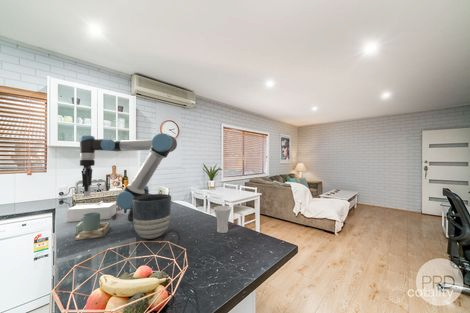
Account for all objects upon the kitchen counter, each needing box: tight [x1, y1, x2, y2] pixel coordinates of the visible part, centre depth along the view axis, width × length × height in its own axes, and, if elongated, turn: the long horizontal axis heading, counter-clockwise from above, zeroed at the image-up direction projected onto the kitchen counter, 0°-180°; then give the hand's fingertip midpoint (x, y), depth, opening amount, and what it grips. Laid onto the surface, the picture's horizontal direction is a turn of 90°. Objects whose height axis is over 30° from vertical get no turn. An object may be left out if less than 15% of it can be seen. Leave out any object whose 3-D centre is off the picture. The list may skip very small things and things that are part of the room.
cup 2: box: [213, 205, 232, 234], centre depth 113 cm, size 10×10×14 cm
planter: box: [132, 193, 172, 240], centre depth 105 cm, size 20×20×21 cm
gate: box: [75, 218, 83, 235], centre depth 113 cm, size 1×12×6 cm, turn 23°
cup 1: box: [83, 212, 101, 232], centre depth 109 cm, size 8×8×10 cm
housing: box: [74, 221, 111, 241], centre depth 109 cm, size 13×14×4 cm
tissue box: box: [66, 200, 117, 223], centre depth 140 cm, size 14×25×11 cm, turn 105°
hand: (87, 196), depth 124 cm, fingers closed
